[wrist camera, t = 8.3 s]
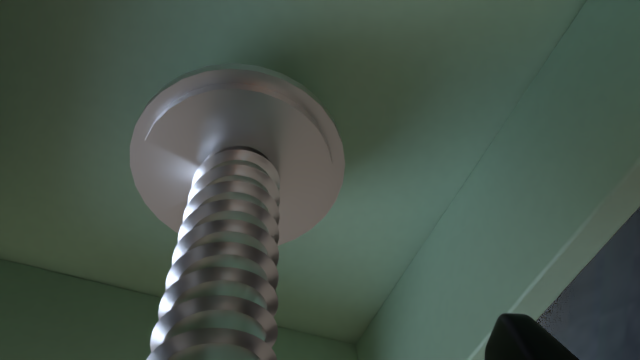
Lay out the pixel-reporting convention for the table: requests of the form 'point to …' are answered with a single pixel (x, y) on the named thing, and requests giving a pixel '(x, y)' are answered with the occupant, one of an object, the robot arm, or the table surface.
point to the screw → (231, 200)
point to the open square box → (359, 174)
